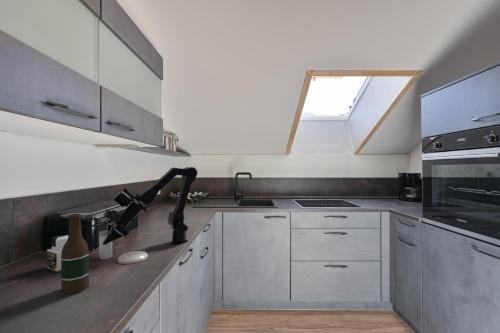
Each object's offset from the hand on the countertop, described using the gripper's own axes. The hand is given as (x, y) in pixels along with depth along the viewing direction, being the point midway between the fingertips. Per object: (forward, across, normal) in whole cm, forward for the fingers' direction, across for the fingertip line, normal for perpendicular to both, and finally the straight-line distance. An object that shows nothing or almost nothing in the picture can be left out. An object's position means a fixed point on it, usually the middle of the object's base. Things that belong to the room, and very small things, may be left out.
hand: (102, 242), depth 107 cm
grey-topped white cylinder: (+4, 0, +6) cm, 7 cm away
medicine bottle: (+15, 0, -5) cm, 15 cm away
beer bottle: (+12, +26, -3) cm, 29 cm away
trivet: (-2, +9, +12) cm, 15 cm away
